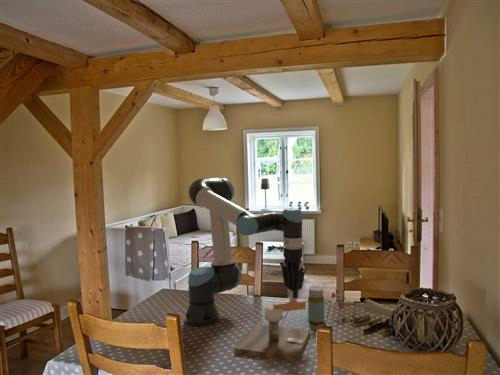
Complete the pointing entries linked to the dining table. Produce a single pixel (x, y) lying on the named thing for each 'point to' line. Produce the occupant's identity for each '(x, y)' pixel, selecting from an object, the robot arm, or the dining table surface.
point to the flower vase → (370, 306)
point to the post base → (273, 342)
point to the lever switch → (282, 309)
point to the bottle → (316, 305)
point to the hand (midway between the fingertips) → (293, 305)
